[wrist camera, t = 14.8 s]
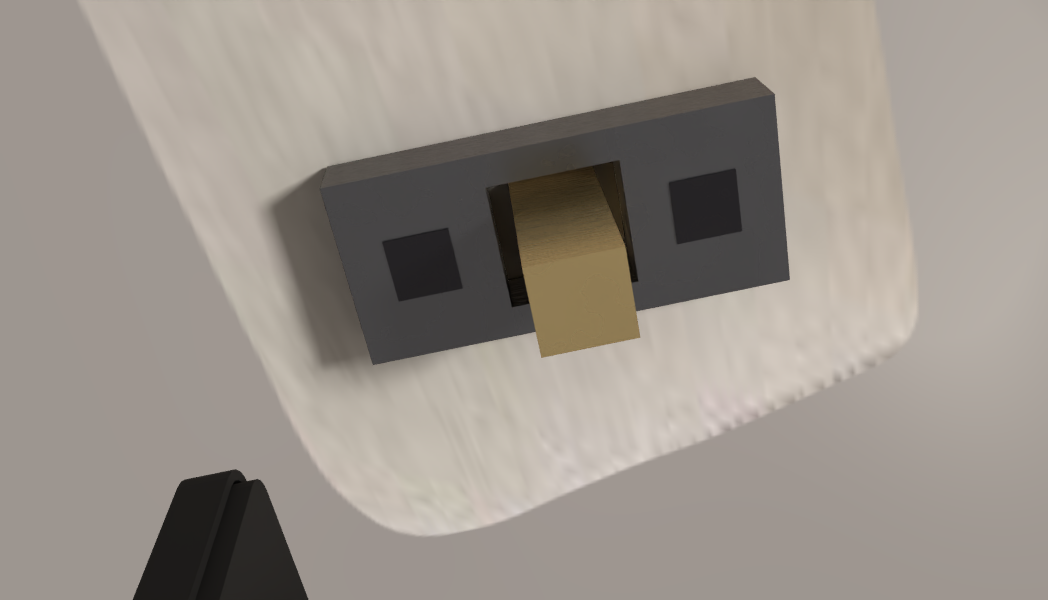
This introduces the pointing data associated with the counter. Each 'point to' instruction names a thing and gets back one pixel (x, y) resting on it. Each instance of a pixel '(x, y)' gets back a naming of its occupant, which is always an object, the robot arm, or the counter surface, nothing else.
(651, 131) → the grey peg hole board
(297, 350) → the counter surface
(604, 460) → the counter surface
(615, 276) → the brass peg
